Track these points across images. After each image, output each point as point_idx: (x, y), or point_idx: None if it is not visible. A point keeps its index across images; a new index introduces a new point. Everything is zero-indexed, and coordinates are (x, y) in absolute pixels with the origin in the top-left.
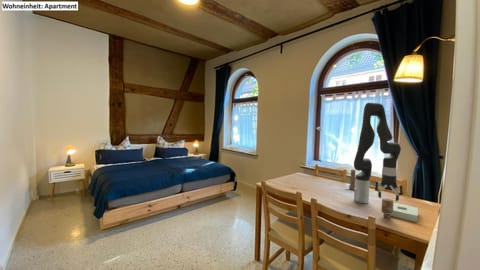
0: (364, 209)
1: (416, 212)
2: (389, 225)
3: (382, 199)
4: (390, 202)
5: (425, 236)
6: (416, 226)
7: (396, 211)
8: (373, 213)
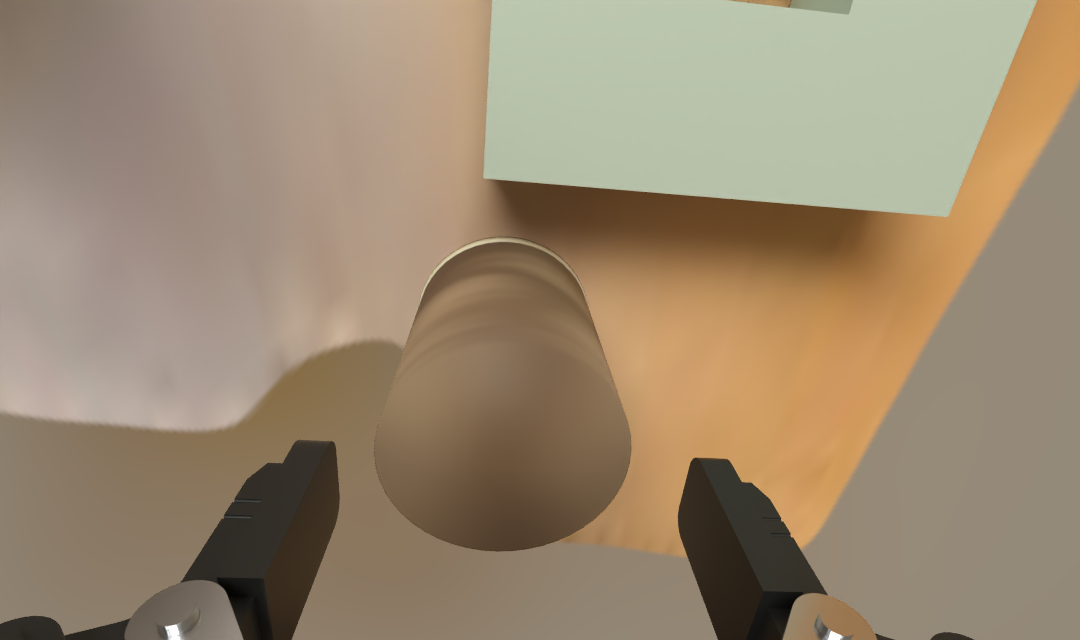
0: (145, 123)
1: (1006, 24)
2: None
3: (388, 484)
4: (561, 528)
5: (818, 521)
6: (814, 343)
7: (650, 189)
8: (318, 226)
